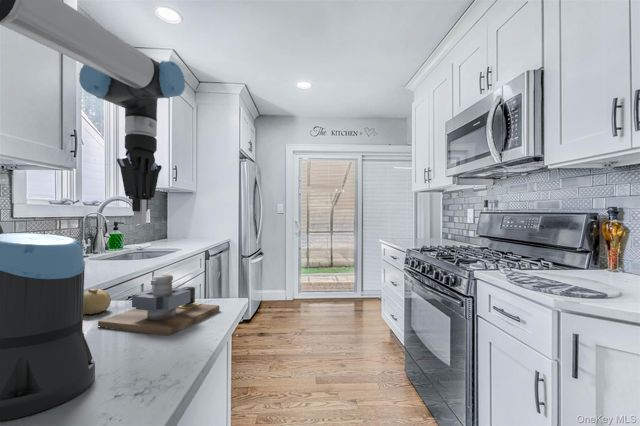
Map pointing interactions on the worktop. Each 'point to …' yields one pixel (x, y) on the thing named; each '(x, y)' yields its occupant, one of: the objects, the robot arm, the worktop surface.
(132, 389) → the worktop surface
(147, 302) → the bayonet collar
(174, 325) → the base
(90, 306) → the onion
